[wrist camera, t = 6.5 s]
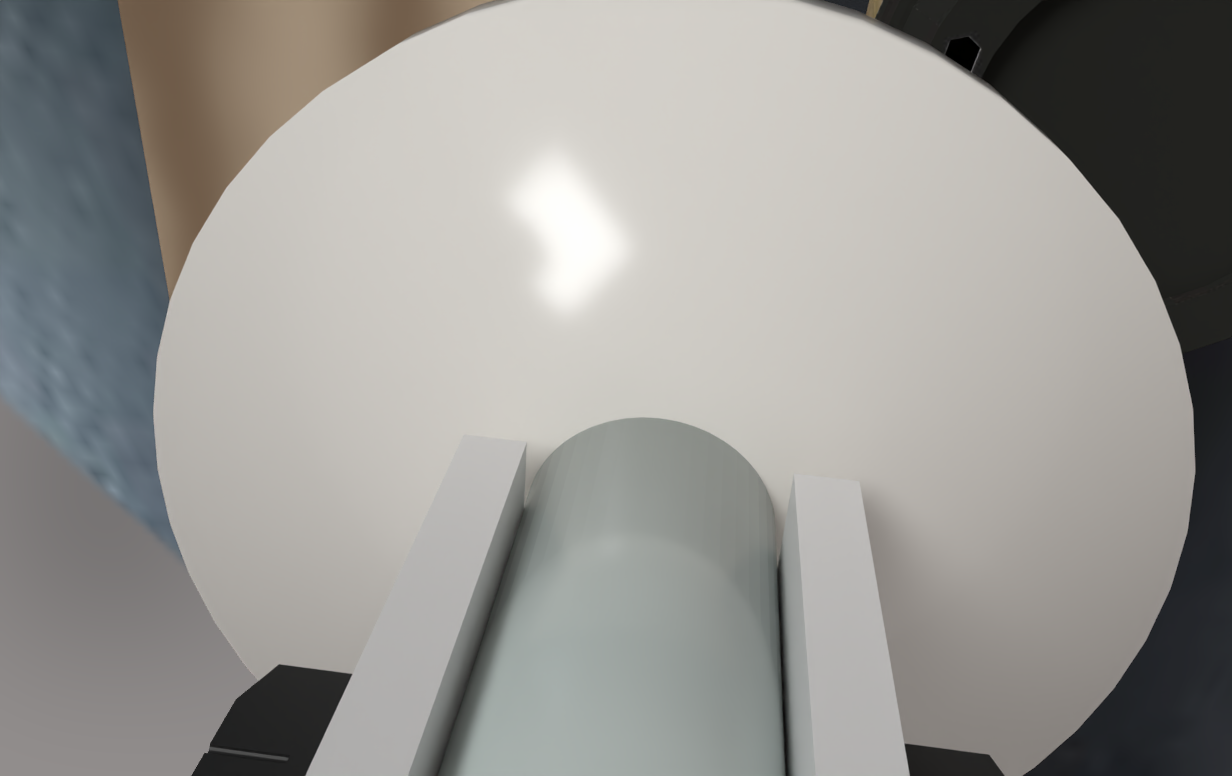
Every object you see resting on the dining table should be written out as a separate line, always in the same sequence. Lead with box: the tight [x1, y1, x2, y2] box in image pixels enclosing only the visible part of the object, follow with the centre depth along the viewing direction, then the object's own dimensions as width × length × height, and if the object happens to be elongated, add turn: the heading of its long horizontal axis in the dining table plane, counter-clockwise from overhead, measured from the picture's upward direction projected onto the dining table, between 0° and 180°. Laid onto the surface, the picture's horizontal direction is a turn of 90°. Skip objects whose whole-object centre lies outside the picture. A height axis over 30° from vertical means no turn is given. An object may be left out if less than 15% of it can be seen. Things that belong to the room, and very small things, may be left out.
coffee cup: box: [866, 0, 1232, 354], centre depth 25 cm, size 10×10×15 cm
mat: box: [118, 0, 494, 299], centre depth 35 cm, size 16×16×1 cm
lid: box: [153, 0, 1195, 776], centre depth 11 cm, size 13×13×8 cm
